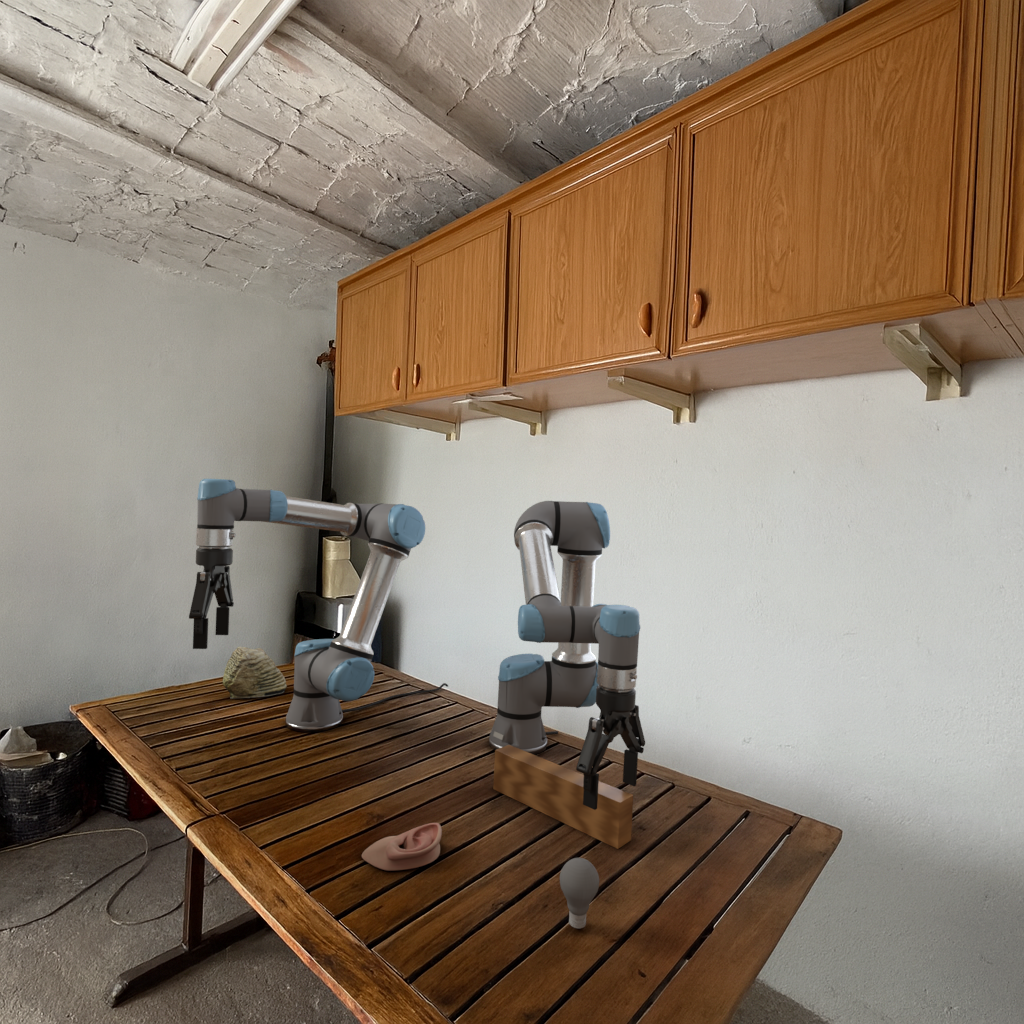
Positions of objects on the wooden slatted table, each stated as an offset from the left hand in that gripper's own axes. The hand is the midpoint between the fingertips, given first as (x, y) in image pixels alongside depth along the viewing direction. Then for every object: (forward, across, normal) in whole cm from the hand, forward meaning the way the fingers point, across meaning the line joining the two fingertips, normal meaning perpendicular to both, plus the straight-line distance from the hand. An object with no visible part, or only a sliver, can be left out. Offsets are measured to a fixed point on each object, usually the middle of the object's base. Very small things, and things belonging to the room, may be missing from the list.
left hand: (211, 641), depth 143 cm
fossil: (+30, +56, +6) cm, 63 cm away
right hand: (+22, -30, -85) cm, 93 cm away
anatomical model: (+30, -35, -46) cm, 65 cm away
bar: (+30, -21, -77) cm, 85 cm away
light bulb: (+30, -55, -73) cm, 97 cm away
